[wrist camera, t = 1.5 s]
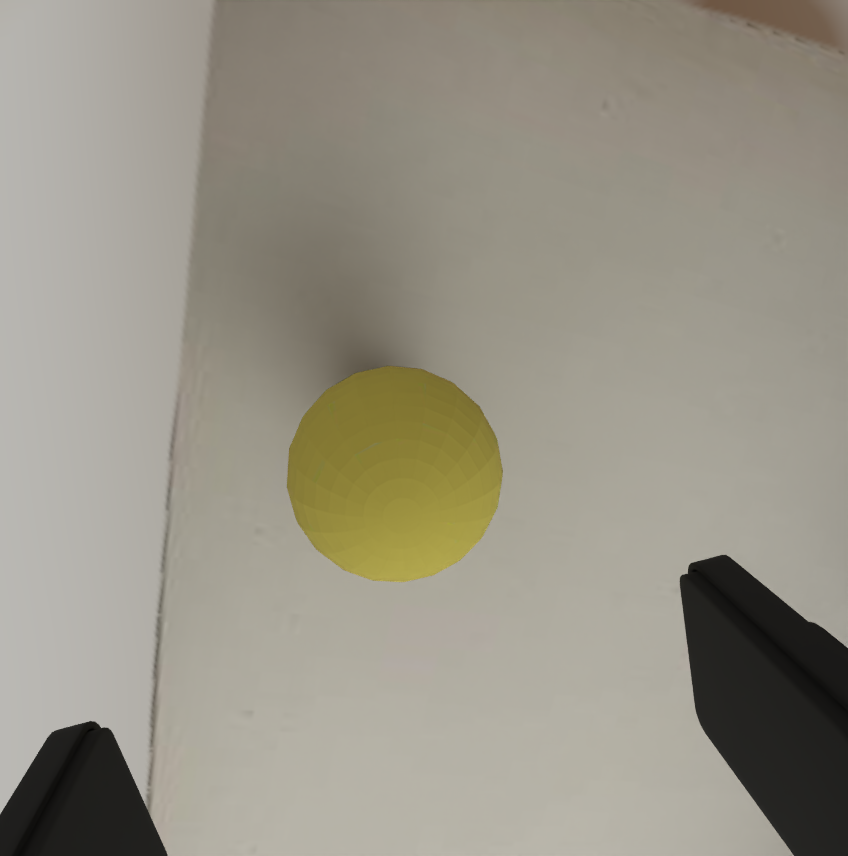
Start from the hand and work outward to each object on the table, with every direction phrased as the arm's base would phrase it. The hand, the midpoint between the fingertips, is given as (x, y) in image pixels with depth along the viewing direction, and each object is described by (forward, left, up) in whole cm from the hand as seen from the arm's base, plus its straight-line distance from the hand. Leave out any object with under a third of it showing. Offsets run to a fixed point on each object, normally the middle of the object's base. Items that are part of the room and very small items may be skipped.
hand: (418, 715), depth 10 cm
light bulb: (0, 0, -17) cm, 17 cm away
